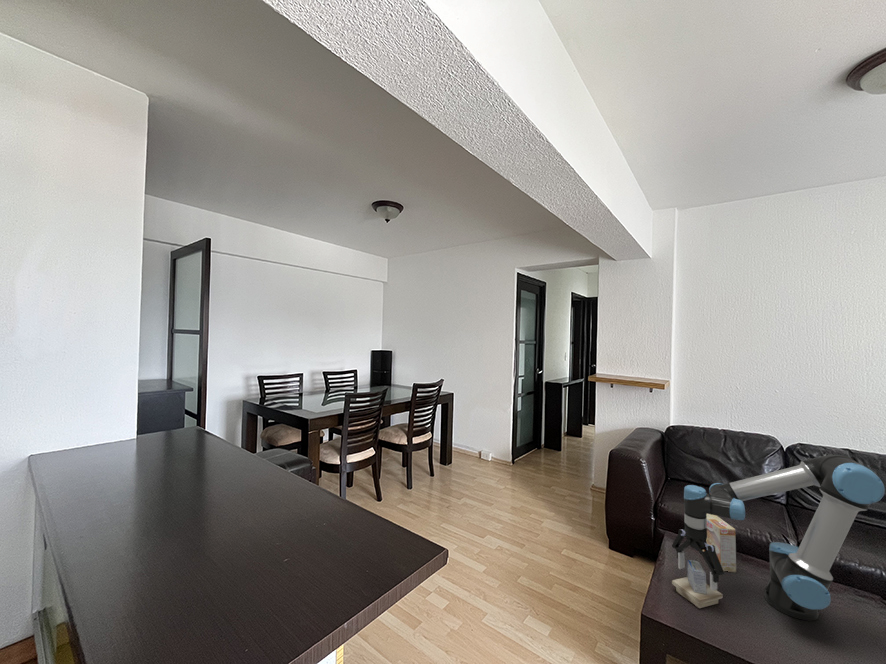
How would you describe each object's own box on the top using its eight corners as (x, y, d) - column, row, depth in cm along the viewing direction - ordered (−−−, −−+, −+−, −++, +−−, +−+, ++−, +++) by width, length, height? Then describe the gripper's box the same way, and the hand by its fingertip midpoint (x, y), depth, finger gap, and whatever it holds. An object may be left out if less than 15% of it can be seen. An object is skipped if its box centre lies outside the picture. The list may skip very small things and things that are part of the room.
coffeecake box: (699, 552, 176) (699, 512, 176) (715, 553, 175) (714, 513, 176) (720, 571, 161) (719, 528, 162) (737, 572, 160) (736, 528, 161)
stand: (722, 604, 141) (722, 594, 141) (699, 610, 137) (699, 600, 138) (693, 584, 152) (693, 575, 152) (672, 590, 149) (672, 580, 149)
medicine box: (706, 595, 140) (706, 572, 141) (693, 592, 142) (693, 570, 142) (699, 582, 148) (699, 561, 148) (687, 579, 149) (687, 559, 150)
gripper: (734, 540, 135) (736, 597, 134) (675, 510, 159) (676, 558, 158) (720, 543, 133) (721, 601, 132) (661, 512, 157) (663, 561, 156)
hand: (696, 578), depth 145 cm, fingers open, 13 cm apart
